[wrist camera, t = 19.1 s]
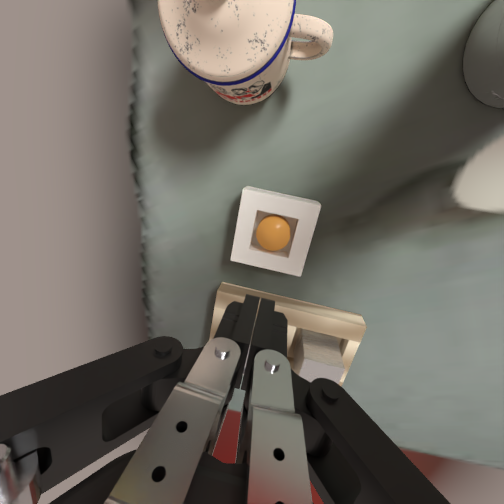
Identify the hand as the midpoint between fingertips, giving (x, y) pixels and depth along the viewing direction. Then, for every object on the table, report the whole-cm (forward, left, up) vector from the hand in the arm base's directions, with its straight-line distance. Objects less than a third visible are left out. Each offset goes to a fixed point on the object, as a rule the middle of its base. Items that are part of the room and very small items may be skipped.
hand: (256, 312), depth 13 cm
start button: (0, 0, -17) cm, 17 cm away
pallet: (+14, +4, -18) cm, 23 cm away
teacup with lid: (-16, -5, -18) cm, 25 cm away
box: (0, 0, -18) cm, 18 cm away
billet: (+14, +9, -18) cm, 24 cm away
